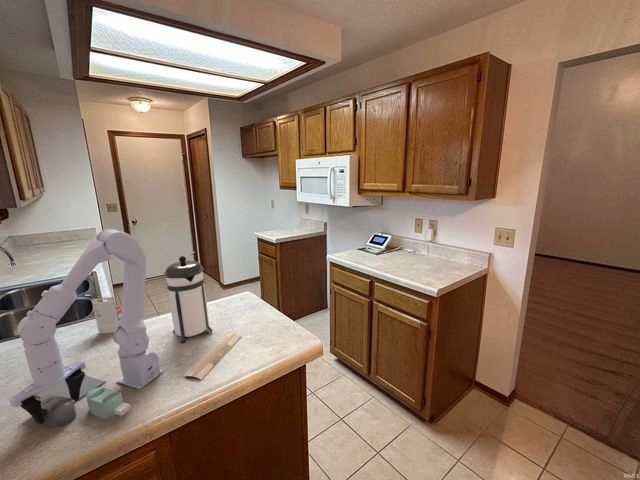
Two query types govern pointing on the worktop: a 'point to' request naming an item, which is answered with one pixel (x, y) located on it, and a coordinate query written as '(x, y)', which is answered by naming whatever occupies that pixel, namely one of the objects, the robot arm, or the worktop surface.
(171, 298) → the coffee press
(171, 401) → the worktop surface
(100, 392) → the teal plug
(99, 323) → the ink box
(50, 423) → the plug
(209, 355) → the wooden plank
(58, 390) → the mat
